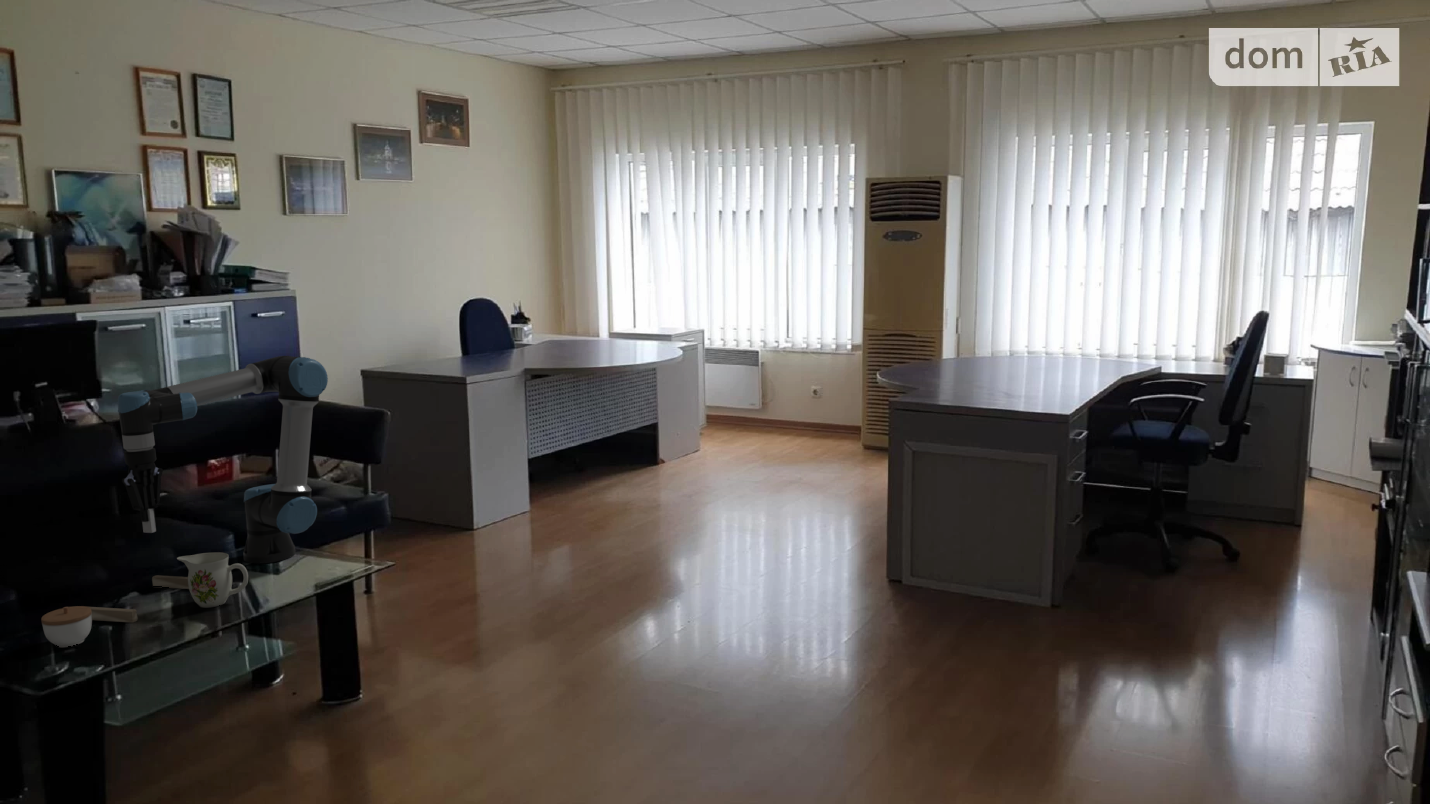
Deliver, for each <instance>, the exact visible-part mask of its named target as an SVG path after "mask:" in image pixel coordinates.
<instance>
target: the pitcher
mask: <svg viewBox="0 0 1430 804" xmlns="http://www.w3.org/2000/svg"><path fill="white" fill-rule="evenodd" d="M229 558H230V557H229V554H228V553H226V552H219V551H218V552H203V553H196V554H192V555H191V554H190V555H182V556H178V557H176V559H177V560H178V561H180V562H182V563H184V564H185V566H186V568H187V570H188V575H187V577H188V586H189V589H188V590H189V592H190V594H191V597H192V599H193V600H194V602H195V603H196V604H197V605H198V606H199V607H200V608H206V609H207V608H208V609H209V608H214V607H219V605H220V606H222V605H224V604H225V603H226V601H227V600H228V599H229V596H233V595H235V594H236V595H237V594H238V593H240V592H242V591H243V590H244V589H245V588H246V587H247V585H248V582H249V573H248V570H247V568H246V567H245V565H243V564H241V563H238V562H237V563H233V564H231V565H229ZM234 569H238V570H240V571H241V573H242V576H243V581H242V583H241V584H240V585H239V586H237V587H236V588H232V585H233V574H232V573H233V572H232V571H233V570H234Z"/></svg>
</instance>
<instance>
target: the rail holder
mask: <svg viewBox="0 0 1430 804" xmlns="http://www.w3.org/2000/svg"><path fill="white" fill-rule="evenodd" d="M151 581H152V582H151V583H152V587H153V586H162V587H169V588H168V589H181V590H182V589H183V590H185V589H187V590H189V586H188V576H174V575H154V576H152V578H151ZM162 587H161V588H162ZM88 607H89V608H90V609H91V611H92V613H91V616H92V621H100V622H101V621H102V622H103V621H104V622H116V623H117V622H118V623H119V622H120V623H135V622H137V621H138V613H137V612H138V611H137V609H134V608H133V609H132V608H118V607H117V608H115V607H114V608H113V607H98V606H97V607H96V606H88Z"/></svg>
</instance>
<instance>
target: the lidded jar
mask: <svg viewBox="0 0 1430 804" xmlns="http://www.w3.org/2000/svg"><path fill="white" fill-rule="evenodd" d="M89 607H90V606H86V605H85V606H84V605H81V606H80V605H79V606H78V605H77V606H76V605H75V606H64V607H62V608H58V609H55V610H52V611H50V612H47V613H46V614H44V615H42V617H41V620H40V621H41V625H42V630H43V633H44V636H45V638H46V639H47V640H48V641H49V642H50V643H51V644H53V645H55V646H56V645H57V646H59V647H58V648H69V647H68V646H71V647H74V646H73V645H75V646H77V645H76V644H78V645H79V644H82V643H84V642H85V640H86V638H87V637H88V635H89V634H90V633H91V629H92V624H93V620H92V616H91V613H92V611H91V609H90V608H89ZM57 646H56V647H57Z"/></svg>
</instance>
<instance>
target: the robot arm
mask: <svg viewBox="0 0 1430 804" xmlns="http://www.w3.org/2000/svg"><path fill="white" fill-rule="evenodd" d="M328 380H329V378H328V373H327V371H326V368H325V367H324V365H323V364H322V363H320V362H319V361H318V360H317V359H314V358H310V357H306V356H292V355H291V356H290V355H278V356H274V357H270V358H267V359H263V360H259V361H256V362H252V363H249V364H247V365H245V368H240V369H237V370H232V371H228V372H224V373H219V374H215V375H211V376H207V377H202V378H199V379H194V380H190V381H186V382H181V383H178V384H173V385H169V386H165V387H160V388H155V389H142V390H137V391H128V392H123V393H121V394H119V395H118V396H117V409H118V410H117V413H118V416H119V425H120V430H121V438H122V446H123V447H122V448H123V450H124V452H123V456H124V463H125V465H127V466H128V469H127V470H128V471H127V476H126V477H123V478H121V483H122V484H123V485H124V487H125V489H126V493H127V495H128V498H129V502H130V505H131V507H132V510H134V511H139V516H140V520H141V523H142V530H143V533H147V534H152V533H155V532H157V527H156V514H155V513H156V511H155V509H158V507H159V505H160V503H161V488H162V486H161V484H162V475H163V471H164V470H163V468H160V467H159V468H158V467H157V465H156V464H155V462H156V460H157V452H156V448H155V445H156V442H155V436H154V435H155V434H154V433H155V432H154V425H158V424H159V425H160V424H165V423H166V424H167V423H171V422H177V421H185V420H188V419H193V418H194V417H195V416H196V415H197V412H198V406H202V405H207V404H209V403H213V402H217V401H218V402H219V401H221V400H225V399H228V398H234V397H237V396H241V395H246V394H249V393H253V394H255V395H259V394H263V393H269V392H270V393H271V392H272V393H273V392H274V393H278V395H277V396H278V397H277V399H278V400H277V401H278V402H280V403H281V405H282V414H281V428H280V439H279V440H280V442H279V450H278V451H279V454H278V464H277V479H276V482H275V483H271V484H264V485H263V484H262V485H259V486H254V487H251V488H248V489H246V490H245V491H244V493H243V503H244V513H245V521H246V523H245V524H246V532H247V537H246V541H245V546H244V549H243V552H242V553H243V561H245V562H246V563H249V564H269V563H270V564H271V563H275V562H276V563H277V562H280V561H283V560H287V559H290V558H292V557H293V556H295V555H296V546H295V544H294V542H293V540H292V537H291V535H290V534H293V535H294V534H300V533H304V532H305V531H307V530H308V529H309V528H310V527H312V525H313V524H314V523H315V521H316V518H317V515H318V507H317V505H316V503H315V502H314V500H313V499H312V488H311V487H310V485H308V474H309V462H310V461H309V460H310V448H311V435H312V422H313V412H314V410H313V409H314V407H315V406H317V404H319V401H320V396H321V394H322V393H323V392H324V391H325V390H326V388H327V386H328V382H329V381H328ZM158 504H159V505H158Z"/></svg>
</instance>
